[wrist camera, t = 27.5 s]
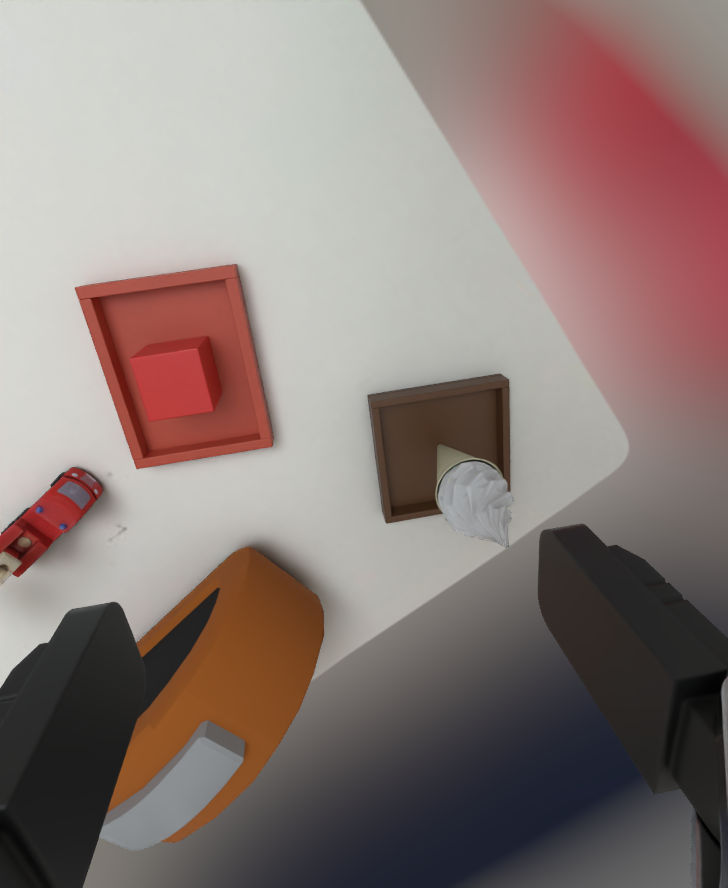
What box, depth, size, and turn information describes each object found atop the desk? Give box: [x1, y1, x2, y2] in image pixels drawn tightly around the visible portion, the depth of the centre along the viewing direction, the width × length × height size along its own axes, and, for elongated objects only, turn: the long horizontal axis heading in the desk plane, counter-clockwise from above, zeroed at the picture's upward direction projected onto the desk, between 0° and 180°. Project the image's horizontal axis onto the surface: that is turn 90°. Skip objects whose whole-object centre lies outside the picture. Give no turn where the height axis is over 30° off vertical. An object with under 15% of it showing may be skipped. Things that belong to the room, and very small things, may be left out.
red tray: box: [75, 264, 274, 469], centre depth 37 cm, size 14×11×2 cm
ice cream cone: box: [435, 444, 514, 548], centre depth 36 cm, size 5×5×15 cm
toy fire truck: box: [0, 467, 103, 585], centre depth 37 cm, size 3×14×10 cm, turn 131°
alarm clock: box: [99, 547, 324, 851], centre depth 40 cm, size 23×9×17 cm, turn 134°
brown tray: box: [368, 374, 510, 523], centre depth 43 cm, size 11×11×2 cm
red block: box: [129, 336, 222, 422], centre depth 36 cm, size 4×4×4 cm
